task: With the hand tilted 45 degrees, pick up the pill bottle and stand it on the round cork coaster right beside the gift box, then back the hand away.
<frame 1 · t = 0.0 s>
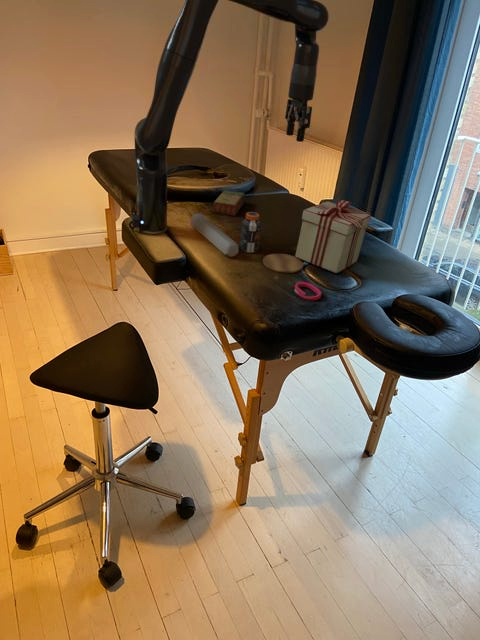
hand: (294, 138, 152), 29 cm above the table, tool pointing down, fingers open, 8 cm apart
carton: (229, 208, 179), on the table
fitness band: (307, 293, 127), on the table
pill bottle: (248, 249, 148), on the table
coaster: (282, 263, 141), on the table
gift box: (331, 261, 146), on the table, touching coaster
tube: (214, 243, 150), on the table
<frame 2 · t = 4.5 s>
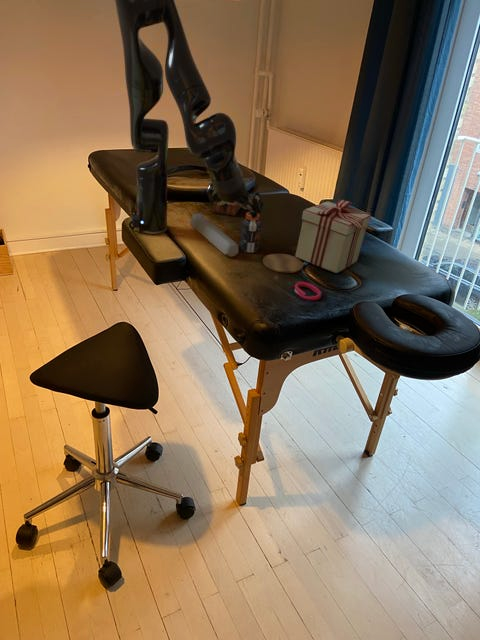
hand: (240, 211, 131), 15 cm above the table, tool tilted 45°, fingers open, 8 cm apart
nothing on the table moved.
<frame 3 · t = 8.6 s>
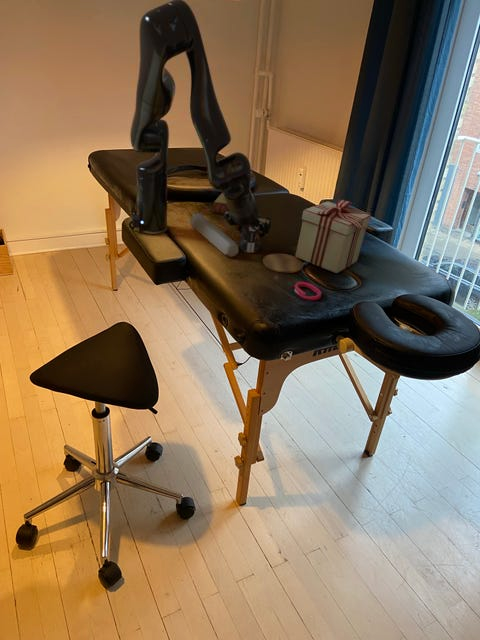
hand: (252, 232, 147), 5 cm above the table, tool tilted 45°, fingers closed on pill bottle, 6 cm apart
pill bottle: (248, 249, 148), on the table, touching gripper
everything else where it was.
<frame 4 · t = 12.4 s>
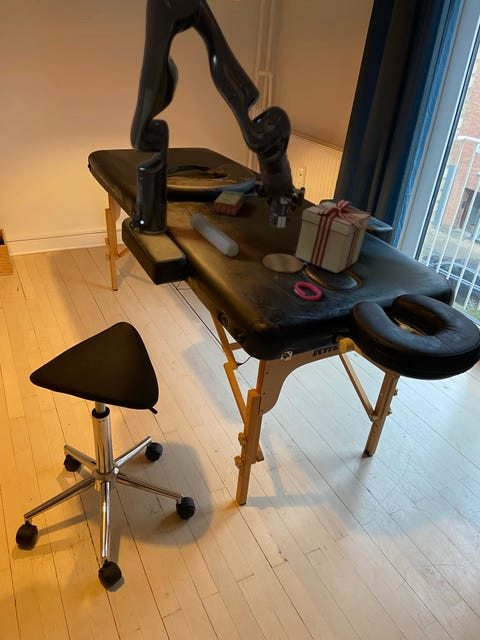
hand: (283, 206, 135), 16 cm above the table, tool tilted 45°, fingers closed on pill bottle, 6 cm apart
pill bottle: (278, 225, 137), point 11 cm above the table, touching gripper
everything else where it was.
when the fingers open (5 cm above the table, at t = 16.2 s): pill bottle stays where it is, resting on coaster.
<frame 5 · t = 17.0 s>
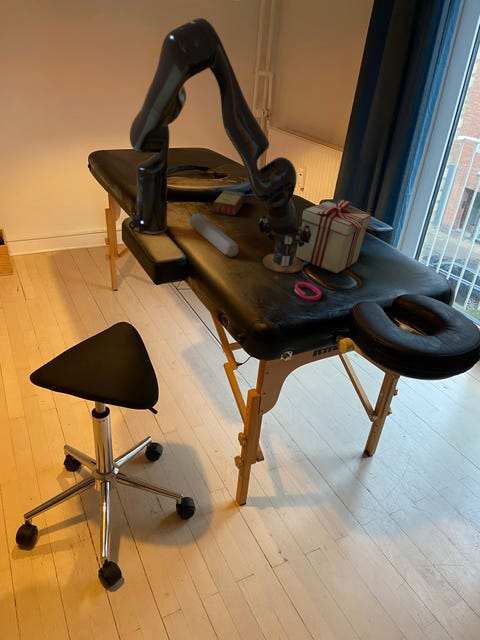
hand: (287, 240, 139), 7 cm above the table, tool tilted 45°, fingers open, 8 cm apart
pill bottle: (282, 262, 141), resting on coaster
everything else where it was.
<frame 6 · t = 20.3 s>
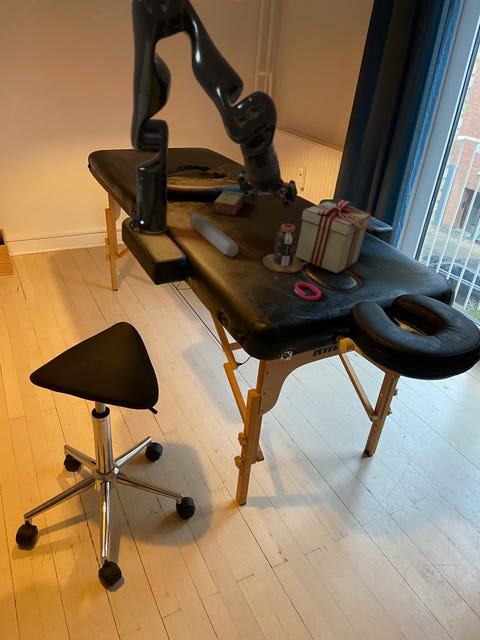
hand: (271, 201, 124), 21 cm above the table, tool tilted 45°, fingers open, 8 cm apart
nothing on the table moved.
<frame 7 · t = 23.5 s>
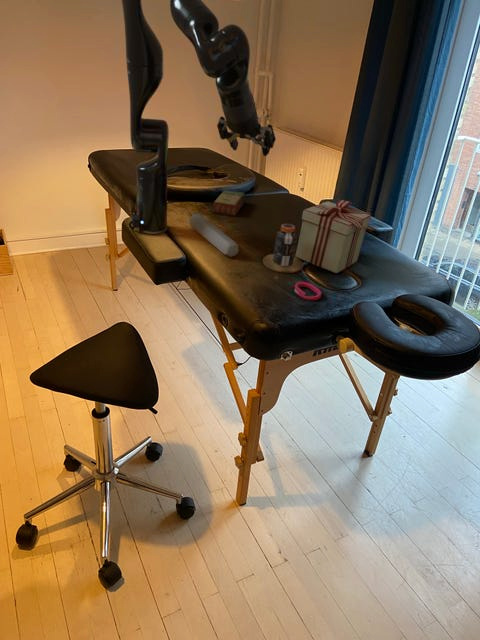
hand: (251, 150, 127), 31 cm above the table, tool tilted 45°, fingers open, 8 cm apart
nothing on the table moved.
at the end: pill bottle inside the target area on the coaster (0.2 cm from its centre), point 0.3 cm above the coaster's base; pill bottle tilted 0°; pill bottle 16.1 cm from the gift box (horizontally) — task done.
